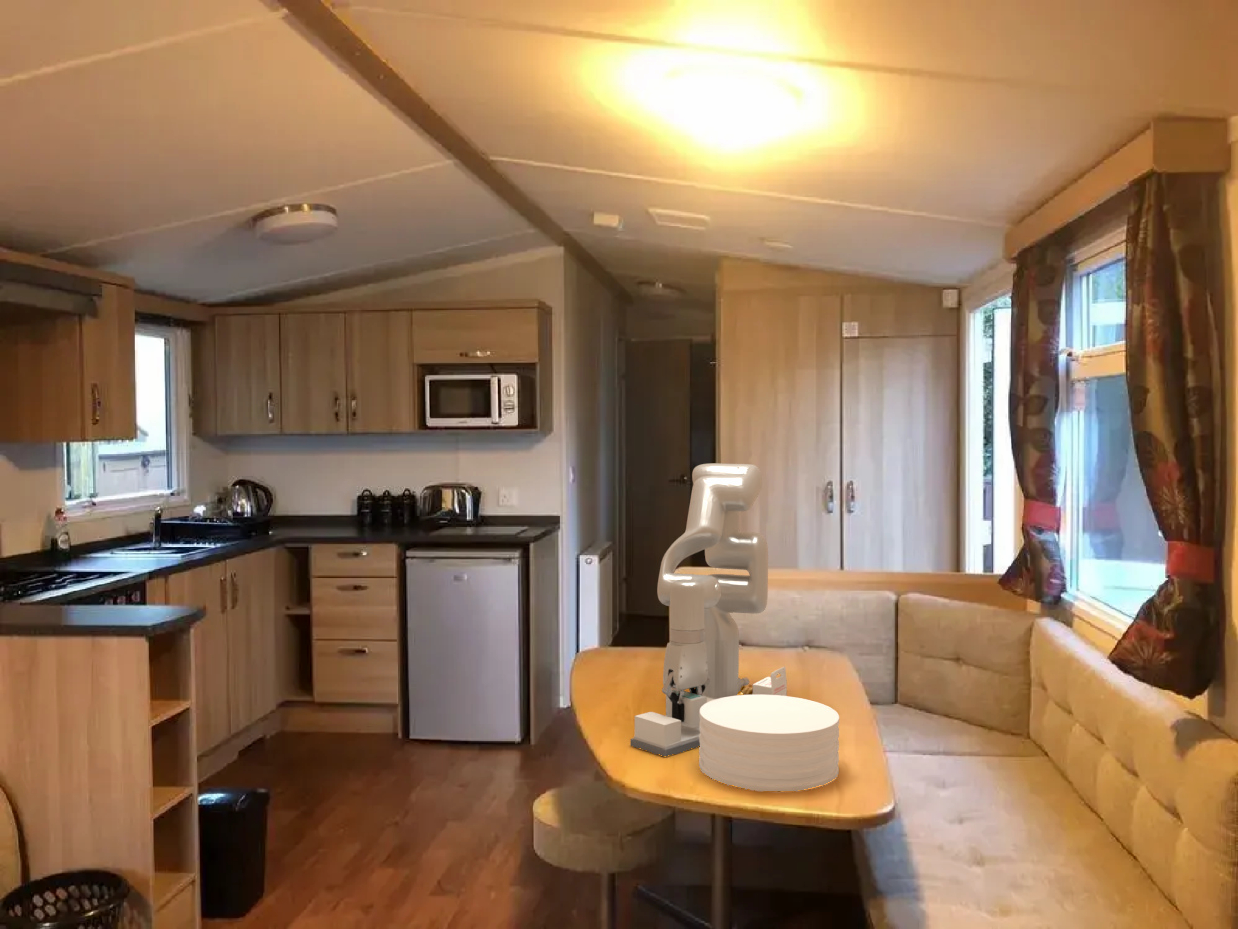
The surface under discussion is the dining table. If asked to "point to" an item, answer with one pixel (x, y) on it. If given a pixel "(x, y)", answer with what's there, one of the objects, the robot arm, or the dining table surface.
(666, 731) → the rail board
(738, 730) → the plate stack
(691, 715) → the block
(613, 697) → the dining table surface
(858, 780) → the dining table surface
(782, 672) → the ink cartridge box
